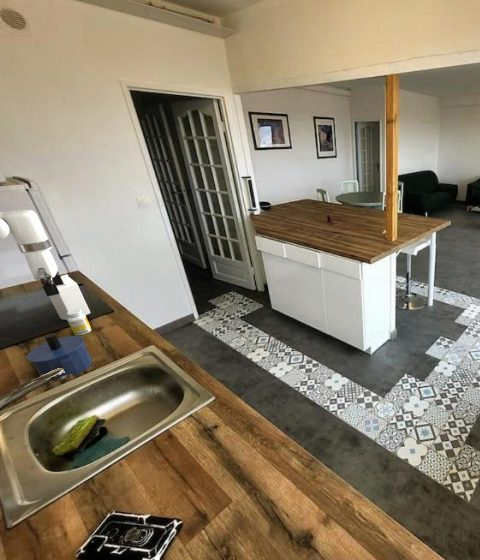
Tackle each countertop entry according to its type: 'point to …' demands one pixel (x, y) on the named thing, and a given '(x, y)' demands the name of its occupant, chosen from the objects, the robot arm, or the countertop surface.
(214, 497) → the countertop surface
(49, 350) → the pot lid
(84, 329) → the supplement bottle
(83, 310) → the milk carton
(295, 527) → the countertop surface
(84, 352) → the pot
